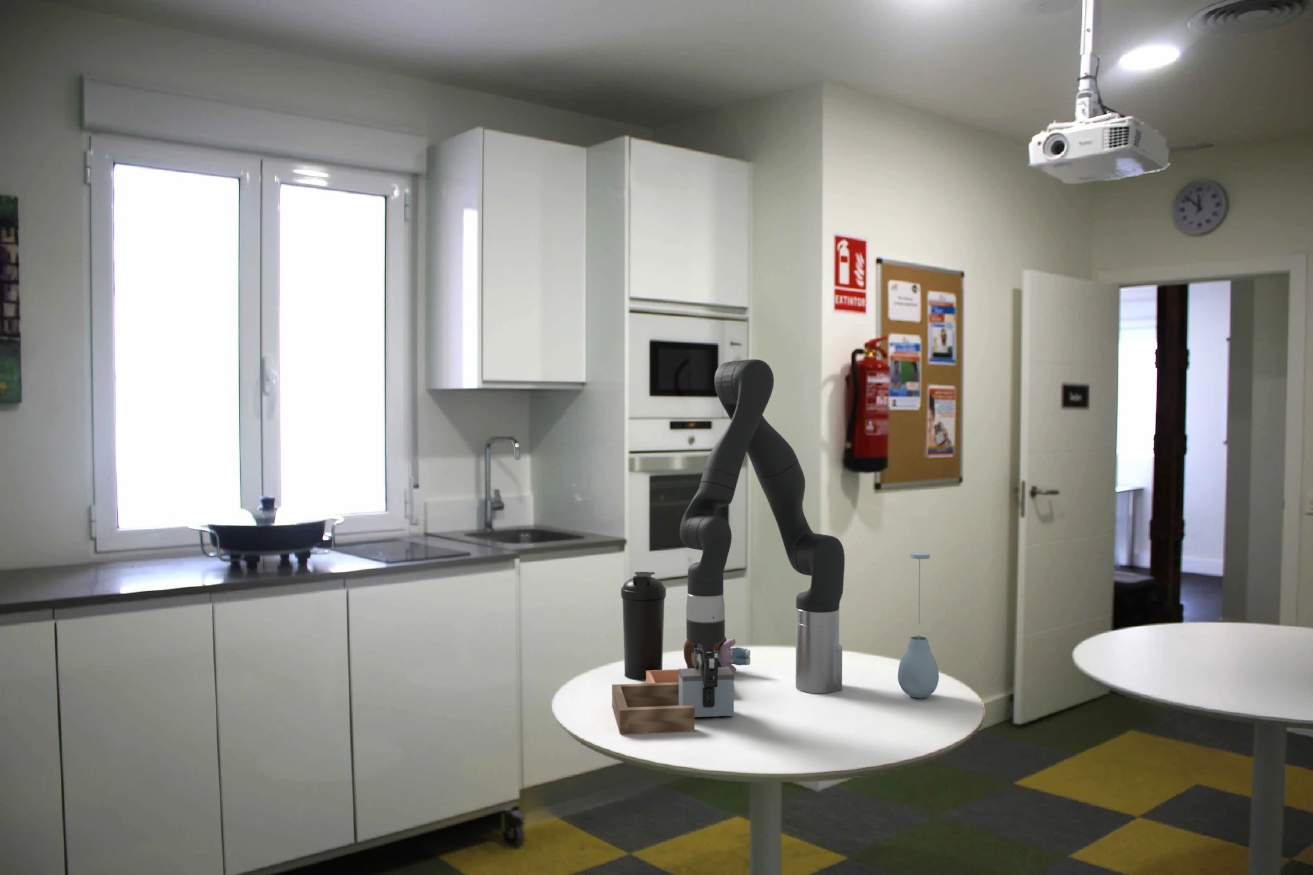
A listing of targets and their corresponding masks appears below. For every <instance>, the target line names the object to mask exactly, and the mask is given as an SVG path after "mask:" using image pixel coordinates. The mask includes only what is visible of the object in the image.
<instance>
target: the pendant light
mask: <svg viewBox="0 0 1313 875" xmlns="http://www.w3.org/2000/svg"><path fill="white" fill-rule="evenodd" d="M930 555H931V554H930V553H928V552H920V551H919V552H916V551H915V552H909V558H910V559H913V560H914V559H915V560H918V563H919V564H918V623H920V622H921V620H920V609H921V608H920V607H921V606H920V603H921V601H920V600H921V595H920V594H921V592H920V591H921V588H920V587H921V585H920V584H921V582H920V581H921V560H929V559H930V558H931V556H930ZM939 672H940V671H939V667H938V664H937V661H936V658H935V657H934V655H933V653H932V651H931V647H930V644H929V640H928V638H927V637H926V636H923V635H922V636H920V635H917V636H914V635H913V636H910V637H909V641H908V645H907V648H906V651H905V652H904V653H903V655H902V656H901V658H900V661H899V665H898V671H897V681H898V684H899V686H900V688H901V689H902V690H901V691H903V692H904V693H905V695H908V696H910V697H912V698H917V699H921V698H927V697H929V696H931V695H933V693H934V692H935V691H936V690H937V687H938V684H939V681H940V674H939Z"/></svg>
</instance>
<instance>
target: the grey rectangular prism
mask: <svg viewBox="0 0 1313 875" xmlns="http://www.w3.org/2000/svg"><path fill="white" fill-rule="evenodd" d="M678 669H679V706H681V705H694V707H695V718H702V717H703V718H704V717H706V718H707V717H721V716H722V717H727V716H735V687H734V686H735V674H733V673H732V671H731V670H730V669H729V667H718V682H717V683H718V685H717V687H716V688H715V705H714V707H707V708H705V707H704V706H703V687H702V676H700V675H699V669H696V668H688V669H687V668H678ZM703 671H704V670H703ZM707 681H712V676H709V677H708V678H707Z"/></svg>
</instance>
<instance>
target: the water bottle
mask: <svg viewBox="0 0 1313 875" xmlns="http://www.w3.org/2000/svg"><path fill="white" fill-rule="evenodd" d="M634 574H635V575H633V577H632V578H629V579H627V580H626V581H625V582H624V583H623V586H622V587H621V588H620V596H621V599H622V623H623V625H622V626H623V654H624V657H623V658H624V659H623V663H624V676H625V678H627V679H629V680H636V681H646V671H647V670H663V660H664V659H663V657H664V624H665V599H666V595H667V588H666V587H665V585H664V583H663V582H662V581H661V580H659V579H657V578H656V577H652V576H653V575H655V572H654V571H635V572H634Z"/></svg>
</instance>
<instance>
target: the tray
mask: <svg viewBox="0 0 1313 875" xmlns="http://www.w3.org/2000/svg"><path fill="white" fill-rule="evenodd" d="M679 669H680V668H678V669H662V670H647V671H646V680H645V683H671V682H679Z"/></svg>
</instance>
